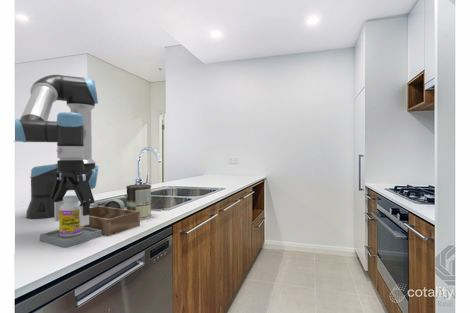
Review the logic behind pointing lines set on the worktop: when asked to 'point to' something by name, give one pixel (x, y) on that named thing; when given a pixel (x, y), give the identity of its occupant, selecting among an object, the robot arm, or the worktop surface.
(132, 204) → the coffee can
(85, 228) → the slate tray
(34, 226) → the worktop surface
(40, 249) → the worktop surface
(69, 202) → the supplement bottle
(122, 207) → the ceramic mug
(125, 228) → the walnut box
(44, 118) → the robot arm
